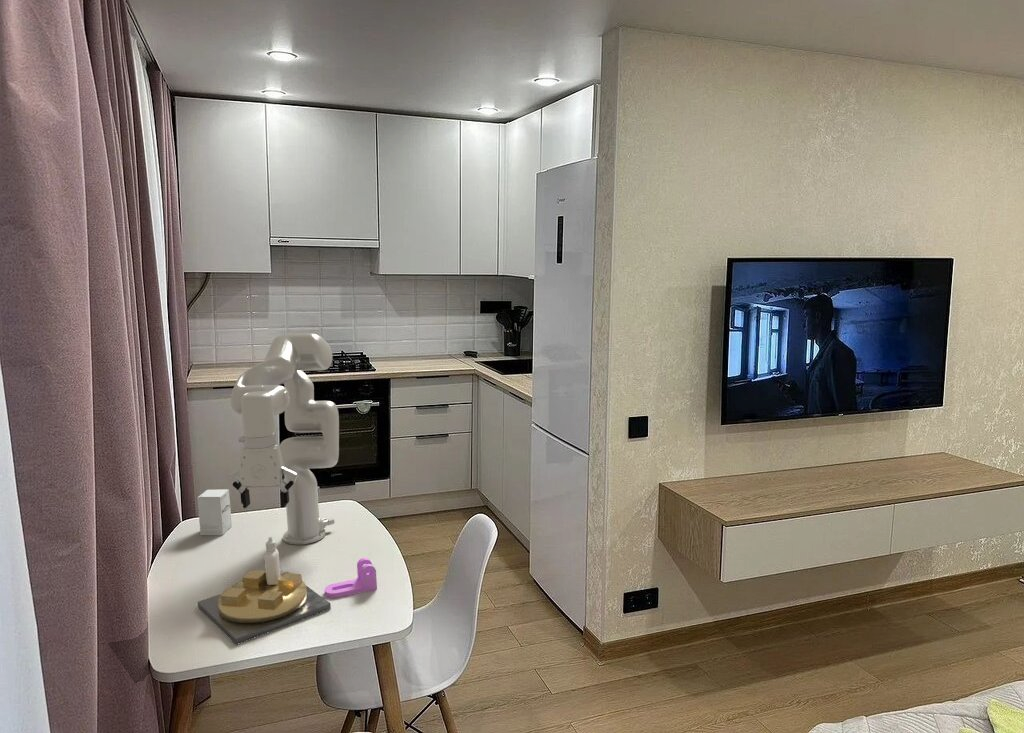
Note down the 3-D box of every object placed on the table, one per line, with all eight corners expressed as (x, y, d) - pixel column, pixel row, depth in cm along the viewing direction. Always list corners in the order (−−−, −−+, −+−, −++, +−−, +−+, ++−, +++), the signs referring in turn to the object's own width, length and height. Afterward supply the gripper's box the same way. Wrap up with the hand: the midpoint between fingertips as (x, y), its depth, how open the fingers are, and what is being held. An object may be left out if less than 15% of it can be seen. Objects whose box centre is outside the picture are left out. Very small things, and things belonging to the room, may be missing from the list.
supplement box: (223, 535, 234) (219, 497, 232) (199, 535, 234) (196, 497, 232) (232, 526, 241) (229, 488, 239) (210, 526, 242) (206, 488, 239)
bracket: (371, 580, 203) (370, 556, 201) (377, 589, 198) (375, 564, 196) (322, 590, 197) (321, 566, 196) (327, 600, 192) (325, 574, 191)
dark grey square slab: (287, 576, 205) (287, 571, 205) (330, 608, 188) (330, 602, 187) (198, 607, 190) (197, 601, 189) (236, 645, 172) (235, 638, 172)
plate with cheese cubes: (247, 579, 201) (246, 563, 200) (321, 585, 196) (320, 568, 196) (200, 619, 180) (199, 601, 179) (281, 626, 176) (280, 608, 175)
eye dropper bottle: (259, 584, 193) (255, 540, 191) (273, 574, 198) (270, 531, 196) (273, 586, 192) (270, 542, 189) (287, 577, 197) (284, 533, 195)
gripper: (220, 445, 184) (226, 512, 188) (290, 444, 184) (295, 511, 187) (231, 437, 192) (237, 501, 195) (299, 436, 192) (303, 500, 195)
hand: (265, 505), depth 191 cm, fingers open, 9 cm apart
